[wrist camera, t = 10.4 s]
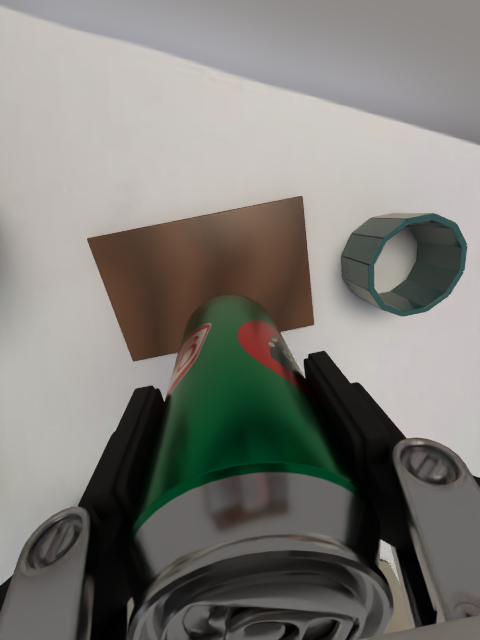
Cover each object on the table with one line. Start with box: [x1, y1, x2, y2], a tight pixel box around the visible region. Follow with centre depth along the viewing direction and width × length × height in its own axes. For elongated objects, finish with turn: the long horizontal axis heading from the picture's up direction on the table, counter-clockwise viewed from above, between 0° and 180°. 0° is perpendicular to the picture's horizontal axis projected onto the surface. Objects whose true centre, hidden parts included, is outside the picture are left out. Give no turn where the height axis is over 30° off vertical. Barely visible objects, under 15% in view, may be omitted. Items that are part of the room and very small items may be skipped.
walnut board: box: [87, 196, 314, 361], centre depth 28 cm, size 20×13×1 cm, turn 100°
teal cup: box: [341, 213, 467, 316], centre depth 26 cm, size 9×9×6 cm
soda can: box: [123, 295, 394, 640], centre depth 10 cm, size 5×5×12 cm
